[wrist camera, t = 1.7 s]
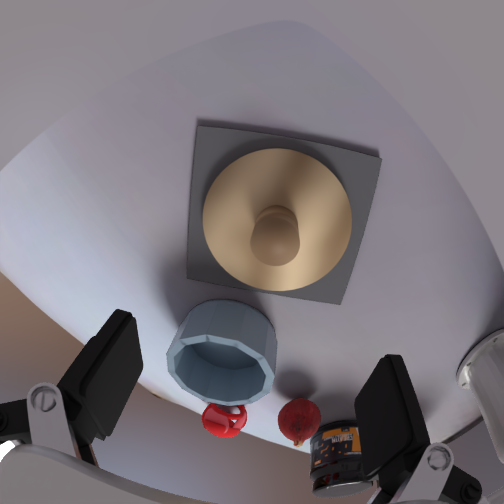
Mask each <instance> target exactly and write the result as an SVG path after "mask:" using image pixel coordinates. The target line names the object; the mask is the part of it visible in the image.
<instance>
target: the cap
mask: <svg viewBox="0 0 504 504" xmlns="http://www.w3.org/2000/svg"><path fill="white" fill-rule="evenodd" d="M238 408H239V410H240V414H230V413H227V412H225V411H223V410H221V409H220V408H219V407H217V406H216V403H212V402H211V404H209V405H208V406H207V408H206V409H205V410H204V412H203V414H202V422H203V425H204V428H205V429H207V430H208V431H210V432H211V433H212V434H213V435H215V436H218V437H223V438H229V437H233V436H235V435H237V434H238V433H239V432H240V430H241V429H242V428H243V427H244V426H245V424H246V421H247V412H246V409H245V407H244V406H243V405H238ZM230 419H231V420H230ZM232 420H237V421H236V422H235V423H234V422H233V421H232Z"/></svg>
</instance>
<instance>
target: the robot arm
mask: <svg viewBox="0 0 504 504" xmlns="http://www.w3.org/2000/svg"><path fill="white" fill-rule="evenodd" d="M142 370H143V360H142V355H141V349H140V343H139V337H138V330H137V324H136V319H135V318H134V317H133V316H132V314H131V313H130V312H127V311H123V310H120V309H116V310H115V311H114V312H113V314H112V315H111V316H110V317H109V319H108V320H107V321H106V323H105V324H104V325H103V326H102V328H101V329H100V330H99V332H98V333H97V334H96V336H94V337H92V338H91V339H90V340H89V341H88V342H87V344H86V345H85V346H84V348H83V349H82V351H81V352H80V353H79V355H78V356H77V357H76V359H75V360H74V362H73V363H72V364H71V366H70V367H69V369H68V370H67V371H66V373H65V374H64V376H63V377H62V378H61V380H60V382H59V383H58V384H57V386H55V385H53V384H51V383H39V384H37V385H35V386H34V387H32V388H31V390H30V391H29V393H28V395H27V399H23V400H17V401H12V402H8V403H2V404H0V504H216V503H211V502H205V501H201V500H196V499H191V498H187V497H183V496H179V495H175V494H171V493H168V492H164V491H161V490H158V489H154V488H151V487H148V486H145V485H142V484H139V483H136V482H134V481H131V480H128V479H126V478H123V477H120V476H117V475H115V474H113V473H110V472H108V471H105V470H103V469H101V468H100V467H99V465H98V462H97V459H96V457H95V454H94V451H93V448H92V445H91V443H92V442H93V440H94V438H95V437H96V438H98V439H101V440H103V441H104V440H105V438H106V436H110V435H111V434H112V432H113V430H114V428H115V425H116V423H117V421H118V419H119V417H120V415H121V413H122V411H123V409H124V407H125V405H126V402H127V400H128V398H129V396H130V394H131V392H132V390H133V388H134V386H135V384H136V382H137V380H138V378H139V376H140V374H141V372H142ZM456 378H457V382H458V385H459V386H460V387H461V388H463V389H471V390H472V393H473V395H474V397H475V399H476V401H477V404H478V406H479V408H480V411H481V413H482V415H483V418H484V420H485V423H486V425H487V428H488V430H489V433H490V436H491V438H492V441H493V444H494V447H495V449H496V452H497V455H498V458H499V459H500V461H501V462H502V463H504V329H501V330H498V331H496V332H494V333H492V334H490V335H489V336H487V337H486V338H485V339H483V340H482V341H481V342H480V343H479V344H477V345H476V346H475V347H474V348H473V349H472V350H471V352H470V353H469V354H468V355H467V356H466V358H465V359H464V360H463V362H462V364H461V365H460V367H459V370H458V372H457V376H456ZM354 406H355V413H356V419H357V426H358V433H359V440H360V447H361V455H362V464H363V472H364V475H366V476H367V480H368V481H374V480H379V485H380V486H379V488H378V489H377V490H376V492H375V493H374V495H373V496H372V497H371V499H370V500H369V501H368V503H367V504H504V486H503V487H502V488H500V489H499V490H497V491H495V492H494V493H492V494H490V495H489V496H487V497H485V496H483V497H481V494H482V488H481V484H480V483H479V481H478V480H477V479H476V478H474V477H472V476H471V475H469V474H467V473H466V472H464V471H462V470H461V469H459V468H458V467H456V466H454V465H453V462H454V457H453V453H452V451H451V450H450V448H449V447H448V446H447V445H445V444H443V443H433V444H431V443H430V438H429V435H428V431H427V428H426V425H425V421H424V418H423V415H422V412H421V409H420V406H419V403H418V400H417V397H416V394H415V391H414V388H413V385H412V382H411V380H410V377H409V374H408V371H407V369H406V366H405V364H404V361H403V358H402V356H401V355H392V354H387V355H385V357H384V358H381V359H380V360H379V362H378V364H377V366H376V367H375V369H374V370H373V372H372V374H371V375H370V377H369V379H368V380H367V382H366V383H365V385H364V386H363V388H362V389H361V391H360V393H359V394H358V396H357V397H356V399H355V403H354Z"/></svg>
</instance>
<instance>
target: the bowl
mask: <svg viewBox="0 0 504 504" xmlns="http://www.w3.org/2000/svg"><path fill="white" fill-rule="evenodd" d="M276 354H277V340H276V335H275V331H274V328H273V326H272V324H271V323H270V321H269V320H268V319H267V318H266V317H265V316H264V315H263V314H262V313H261V312H259V311H258V310H257V309H255V308H253V307H252V306H249V305H247V304H245V303H242V302H239V301H234V300H228V299H216V300H210V301H206V302H203V303H201V304H199V305H197V306H196V307H194V308H193V309H192V310H191V311H190V312H189V313H188V315H187V317H186V318H185V320H184V321H183V322H182V323H181V325H180V327H179V329H178V331H177V333H176V335H175V337H174V339H173V341H172V343H171V345H170V347H169V349H168V351H167V353H166V355H167V365H168V372H169V373H170V375H171V376H172V377H173V378H174V380H175V381H176V382H177V383H178V384H179V386H180V387H181V388H182V389H184V390H185V391H187V392H189V393H191V394H192V395H194V396H196V397H198V398H200V399H201V400H203V401H207V402H212V403H217V404H221V405H226V406H233V405H242V404H250V403H253V402H255V401H257V400H258V399H260V398H262V397H263V396H265V395H267V394H268V393H270V389H271V386H272V383H273V380H274V377H275V368H276Z"/></svg>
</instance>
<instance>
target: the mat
mask: <svg viewBox="0 0 504 504" xmlns="http://www.w3.org/2000/svg"><path fill="white" fill-rule="evenodd" d="M273 148H281V149H290V150H294V151H298V152H301V153H304V154H306V155H309V156H311V157H312V158H314V159H316V160H318V161H319V162H320V163H322V164H323V165H324V166H326V167H327V168H328V169H329V170H330V171H331V172H332V173H333V174H334V175H335V176H336V178H337V179H338V180H339V182H340V183H341V185H342V187H343V188H344V190H345V192H346V194H347V197H348V200H349V203H350V208H351V214H352V229H351V235H350V239H349V242H348V245H347V248H346V250H345V252H344V254H343V256H342V257H341V259H340V260H339V262H338V263H337V264H336V265H335V266H334V268H333V269H332V270H331V271H330V272H328V273H327V274H326V275H325V276H323V277H322V278H320V279H319V280H317V281H316V282H314V283H312V284H310V285H307V286H304V287H302V288H298V289H293V290H286V291H271V290H264V289H259V288H255V287H253V286H250V285H247V284H245V283H243V282H241V281H239V280H238V279H236V278H235V277H233V276H232V275H230V274H229V273H228V272H227V271H226V270H225V269H224V268H223V267H222V266H221V265H220V264H219V263H218V262H217V260H216V259H215V257H214V256H213V254H212V252H211V251H210V249H209V246H208V244H207V242H206V238H205V235H204V229H203V209H204V203H205V200H206V196H207V194H208V192H209V189H210V187H211V186H212V184H213V182H214V181H215V179H216V178H217V177H218V176H219V174H220V173H221V172H222V171H223V170H224V169H225V168H226V167H228V166H229V165H230V164H231V163H233V162H234V161H236V160H237V159H239V158H241V157H243V156H245V155H247V154H249V153H252V152H255V151H259V150H264V149H273ZM381 162H382V159H381V158H378V157H374V156H371V155H367V154H363V153H359V152H355V151H351V150H347V149H343V148H339V147H335V146H330V145H326V144H321V143H316V142H311V141H306V140H301V139H296V138H290V137H284V136H279V135H272V134H266V133H259V132H252V131H244V130H236V129H227V128H217V127H205V126H198V128H197V137H196V146H195V155H194V166H193V177H192V189H191V202H190V217H189V235H188V257H187V278H188V279H193V280H198V281H203V282H208V283H213V284H218V285H224V286H229V287H234V288H240V289H245V290H251V291H257V292H262V293H268V294H274V295H280V296H286V297H292V298H298V299H304V300H311V301H317V302H324V303H330V304H337V305H341V302H342V299H343V296H344V293H345V291H346V288H347V285H348V282H349V279H350V276H351V273H352V270H353V267H354V264H355V260H356V257H357V254H358V251H359V248H360V244H361V241H362V237H363V234H364V231H365V227H366V223H367V220H368V216H369V212H370V208H371V205H372V201H373V197H374V193H375V189H376V184H377V180H378V176H379V171H380V167H381Z"/></svg>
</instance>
